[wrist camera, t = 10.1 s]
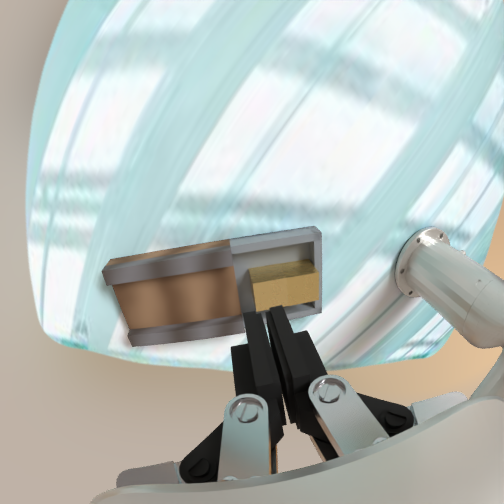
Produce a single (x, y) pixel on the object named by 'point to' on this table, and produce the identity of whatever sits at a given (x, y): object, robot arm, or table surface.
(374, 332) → the table surface
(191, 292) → the slot block
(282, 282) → the golden wooden cube
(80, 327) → the table surface
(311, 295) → the tan cube
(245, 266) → the tray
